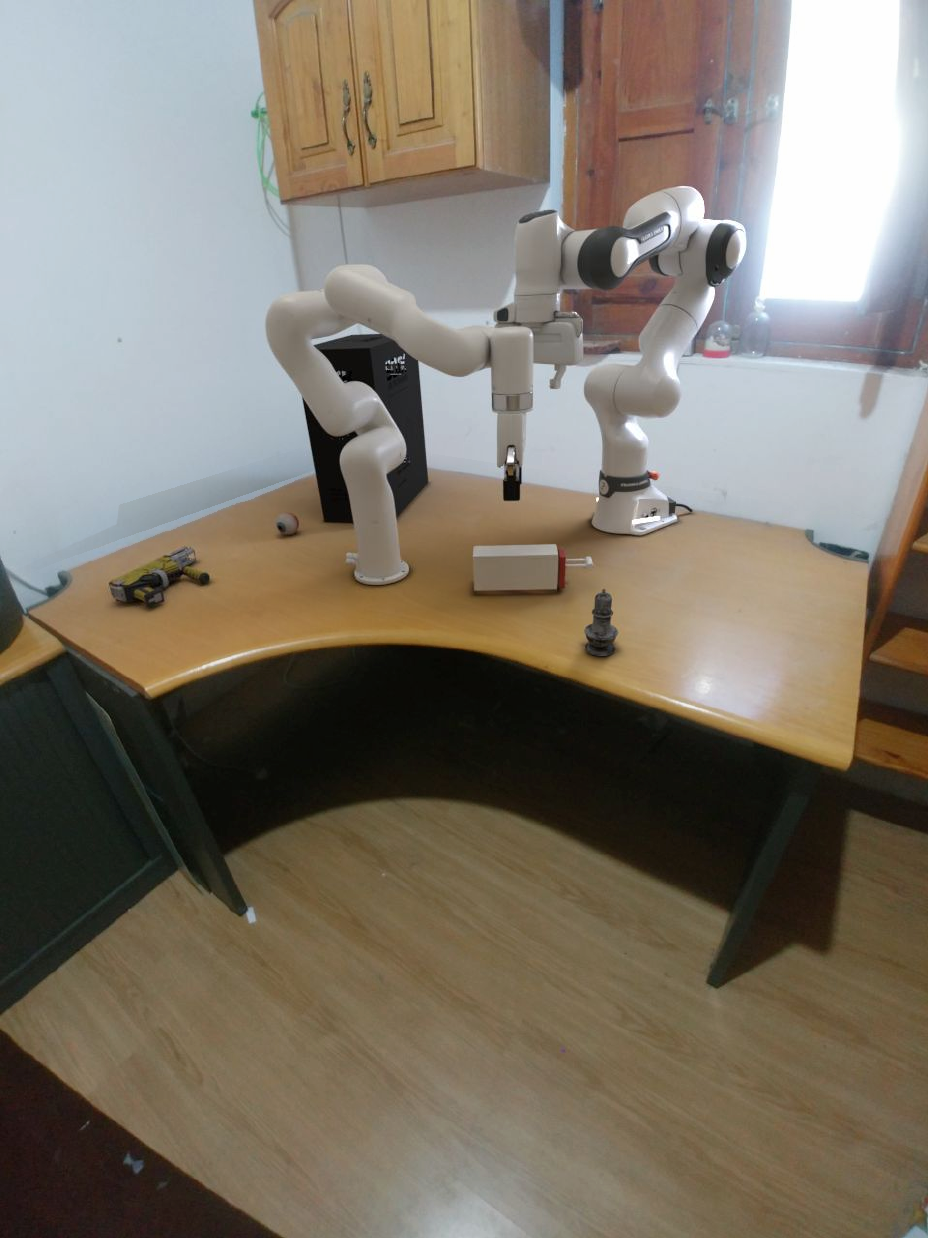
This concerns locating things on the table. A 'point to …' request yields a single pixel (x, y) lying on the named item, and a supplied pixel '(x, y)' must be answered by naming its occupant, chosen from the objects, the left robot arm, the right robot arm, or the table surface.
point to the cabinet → (515, 569)
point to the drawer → (570, 566)
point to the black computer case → (402, 401)
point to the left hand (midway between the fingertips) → (512, 492)
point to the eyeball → (287, 523)
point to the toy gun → (155, 578)
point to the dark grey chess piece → (601, 627)
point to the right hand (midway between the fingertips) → (536, 386)
